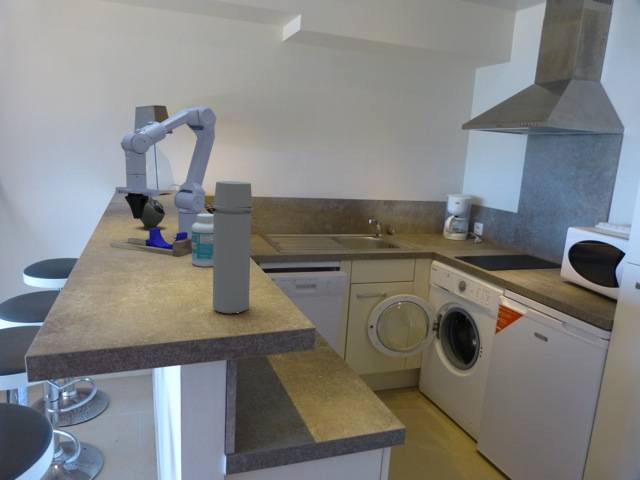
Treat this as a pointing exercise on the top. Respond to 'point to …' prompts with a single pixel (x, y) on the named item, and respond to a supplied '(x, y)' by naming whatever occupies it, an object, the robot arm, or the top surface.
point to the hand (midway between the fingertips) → (137, 218)
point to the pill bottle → (202, 241)
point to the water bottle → (231, 246)
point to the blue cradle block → (159, 242)
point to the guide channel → (178, 248)
